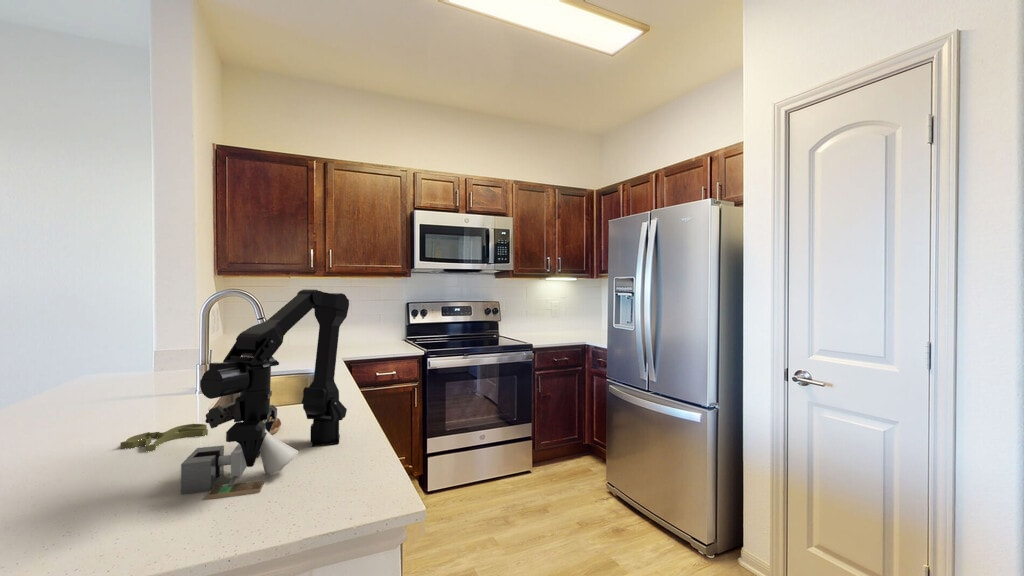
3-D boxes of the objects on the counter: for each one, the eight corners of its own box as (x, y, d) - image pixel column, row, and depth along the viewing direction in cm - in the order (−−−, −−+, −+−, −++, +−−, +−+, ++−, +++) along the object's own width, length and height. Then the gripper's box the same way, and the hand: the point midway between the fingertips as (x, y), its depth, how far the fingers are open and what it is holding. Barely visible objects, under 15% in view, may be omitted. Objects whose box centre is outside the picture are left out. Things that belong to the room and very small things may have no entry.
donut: (289, 429, 125) (289, 415, 125) (262, 441, 115) (262, 426, 115) (257, 426, 127) (257, 413, 127) (227, 439, 117) (227, 424, 117)
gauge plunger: (248, 463, 96) (249, 439, 96) (234, 486, 85) (234, 460, 85) (224, 465, 95) (225, 442, 95) (206, 490, 84) (207, 463, 84)
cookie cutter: (138, 456, 105) (138, 448, 105) (114, 448, 110) (114, 440, 110) (216, 434, 121) (216, 427, 121) (192, 428, 126) (192, 421, 126)
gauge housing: (272, 466, 98) (272, 440, 98) (260, 492, 86) (260, 462, 86) (196, 475, 93) (197, 448, 93) (172, 504, 81) (172, 472, 81)
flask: (282, 472, 90) (253, 434, 88) (260, 480, 93) (231, 444, 91) (305, 448, 97) (278, 413, 95) (284, 457, 100) (258, 422, 98)
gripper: (224, 383, 99) (221, 451, 99) (195, 400, 82) (192, 484, 81) (278, 380, 103) (276, 446, 102) (262, 397, 85) (260, 477, 85)
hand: (252, 462), depth 93 cm, fingers open, 5 cm apart
